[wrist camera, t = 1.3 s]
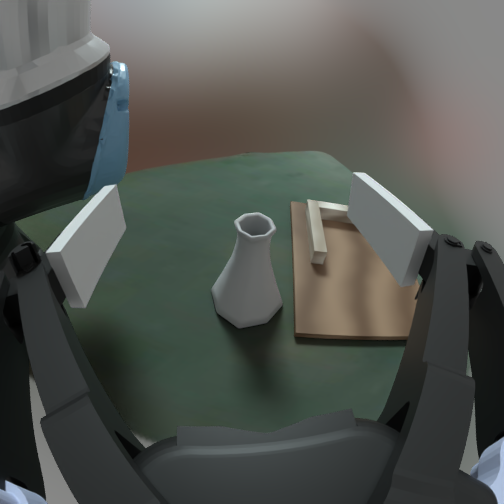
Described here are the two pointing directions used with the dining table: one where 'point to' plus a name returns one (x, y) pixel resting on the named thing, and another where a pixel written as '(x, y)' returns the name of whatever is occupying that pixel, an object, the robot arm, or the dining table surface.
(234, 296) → the flask
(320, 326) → the nook board
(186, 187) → the dining table surface
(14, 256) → the robot arm
